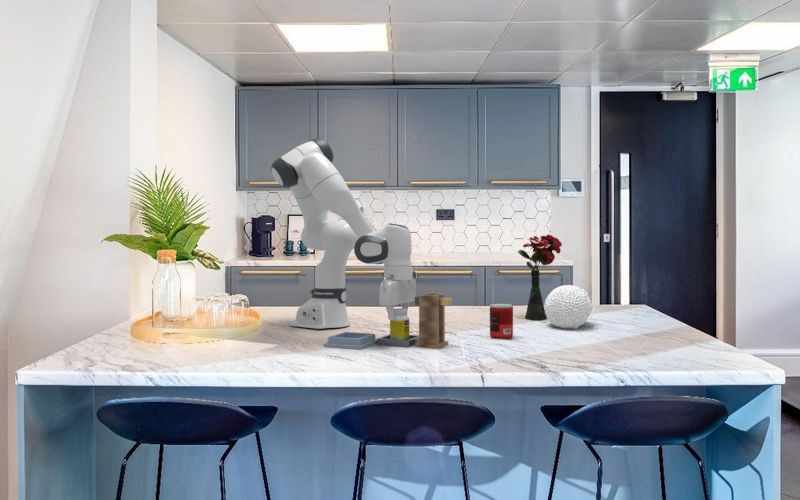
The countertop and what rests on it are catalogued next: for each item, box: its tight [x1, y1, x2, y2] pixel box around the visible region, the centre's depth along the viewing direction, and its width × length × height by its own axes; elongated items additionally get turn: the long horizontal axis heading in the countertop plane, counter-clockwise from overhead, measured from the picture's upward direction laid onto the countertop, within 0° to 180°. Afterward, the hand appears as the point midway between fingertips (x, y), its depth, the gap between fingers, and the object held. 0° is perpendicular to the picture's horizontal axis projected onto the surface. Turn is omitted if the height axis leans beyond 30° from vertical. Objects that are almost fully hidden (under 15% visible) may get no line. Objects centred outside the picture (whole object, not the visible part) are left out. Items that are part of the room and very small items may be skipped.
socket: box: [376, 333, 419, 348], centre depth 195 cm, size 11×11×2 cm
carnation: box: [516, 234, 563, 321], centre depth 242 cm, size 16×18×35 cm
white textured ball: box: [544, 284, 593, 330], centre depth 225 cm, size 20×18×16 cm
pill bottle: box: [389, 307, 410, 340], centre depth 194 cm, size 6×6×11 cm
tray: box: [323, 331, 377, 351], centre depth 192 cm, size 13×13×3 cm
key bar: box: [414, 295, 453, 306], centre depth 190 cm, size 11×4×3 cm, turn 67°
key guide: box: [414, 292, 449, 349], centre depth 190 cm, size 8×8×16 cm
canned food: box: [489, 303, 514, 340], centre depth 206 cm, size 8×8×11 cm
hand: (397, 317), depth 194 cm, fingers open, 8 cm apart
